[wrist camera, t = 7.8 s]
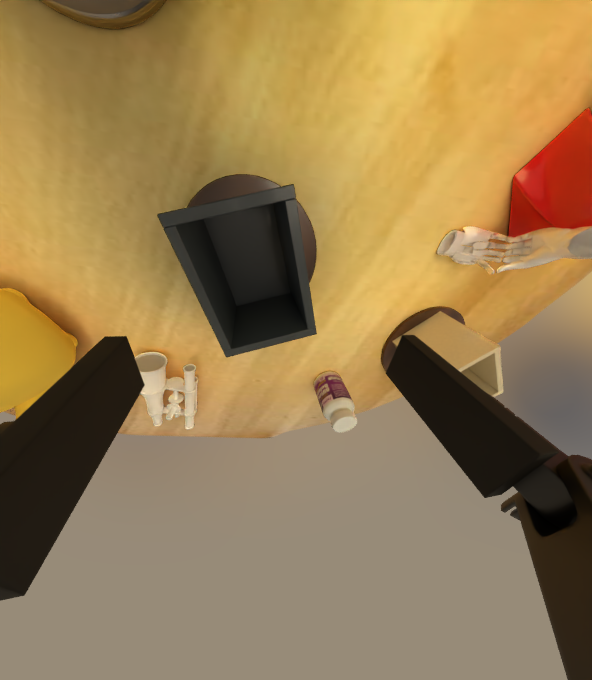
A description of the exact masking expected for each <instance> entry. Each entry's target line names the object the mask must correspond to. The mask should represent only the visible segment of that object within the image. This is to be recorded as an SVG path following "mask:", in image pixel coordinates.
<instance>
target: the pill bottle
mask: <svg viewBox="0 0 592 680" xmlns="http://www.w3.org/2000/svg"><path fill="white" fill-rule="evenodd" d="M314 388H315V391H316V394H317V397H318V400H319V403H320V406H321V409H322V412H323V415H324V417H325V418H326V419H327V420H329V421H330V423H331V425H332V428H333V430H334V431H336V432H346V431H349V430H351V429H352V428H353V427H355V425H356V424H357V419H356V416H355V414H354V413H353V411H354V403H353V401H352V399H351V397H350V395H349V393H348V391H347V389H346V387H345V385H344V383H343V381H342V379H341V377H340V375H339V374H338V373H336V372H332V371H328V372H324V373H322V374H320V375H319V376H318V377H317V378H316V379H315V381H314Z"/></svg>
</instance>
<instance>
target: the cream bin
mask: <svg viewBox="0 0 592 680" xmlns="http://www.w3.org/2000/svg"><path fill="white" fill-rule="evenodd" d="M403 335H415V336H416V337H418V338H419V339H420V340H421V341H423V342H424V343H425V344H426V345H428V346H429V347H430V348H431V349H433V350H434V351H435V352H436V353H437V354H439V355H440V356H441V357H442V358H444V359H445V360H446V361H447V362H449V363H450V364H451V365H452V366H454V367H455V368H456V369H457V370H459V371H460V372H461V373H462V374H464V375H465V376H466V377H467V378H468V379H470V380H471V381H472V382H473V383H475V384H476V385H477V386H478V387H480V388H481V389H482V390H483V391H485V392H486V393H488V394H490V395H491V396H493V397H495V396H497V395H499V394H501V393H503V378H502V365H501V350H500V345H498V344H496V343H494V342H493V341H491V340H489V339H487V338H486V337H484V336H482V335H481V334H479V333H477V332H475V331H474V330H472V329H470V328H469V327H467V326H465V325H463V324H462V323H460V322H458V321H456V320H455V319H453V318H451V317H450V316H448V315H446V314H444V313H443V312H441V311H440V312H438V313H436V314H435V315H433V316H432V317H430V318H429V319H427V320H425V321H424V322H422V323H421V324H419V325H417V326H416V327H414V328H413V329H411V330H409V331H408V332H406V333H405V334H403ZM401 337H402V335H401V336H400V337H398V338H397V339H395V340H393V341H392V342H393V344H394V346H395V348H397V346H398V344H399V341H400V339H401Z"/></svg>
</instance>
